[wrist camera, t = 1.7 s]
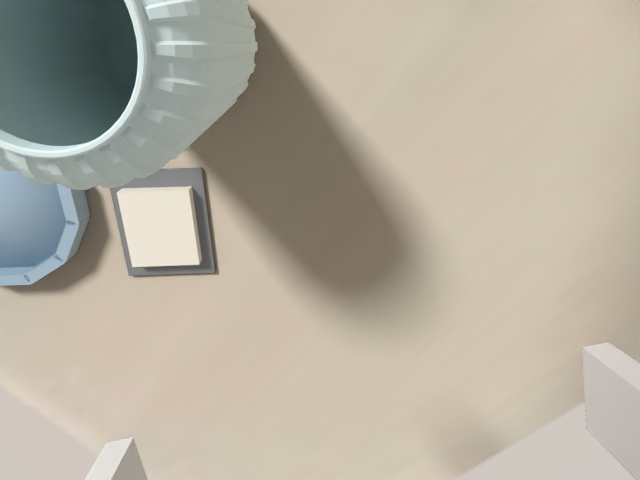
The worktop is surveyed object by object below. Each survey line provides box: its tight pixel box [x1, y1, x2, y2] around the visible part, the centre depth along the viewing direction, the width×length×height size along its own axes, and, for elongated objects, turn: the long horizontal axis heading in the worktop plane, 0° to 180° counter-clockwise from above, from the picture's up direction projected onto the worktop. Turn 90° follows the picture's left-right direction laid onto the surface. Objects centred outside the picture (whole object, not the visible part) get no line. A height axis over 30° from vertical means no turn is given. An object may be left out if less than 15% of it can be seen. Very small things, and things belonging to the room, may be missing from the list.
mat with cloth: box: [110, 168, 215, 276], centre depth 40 cm, size 10×8×2 cm
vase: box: [0, 0, 258, 190], centre depth 25 cm, size 12×12×22 cm
